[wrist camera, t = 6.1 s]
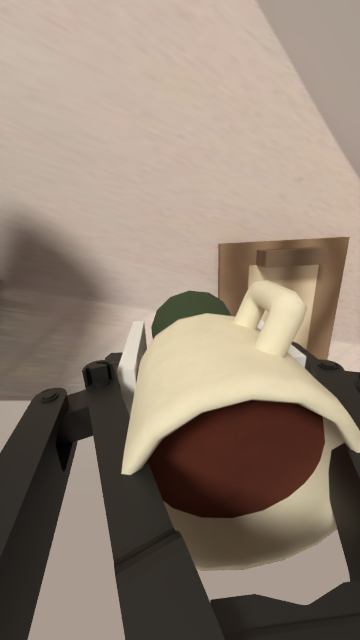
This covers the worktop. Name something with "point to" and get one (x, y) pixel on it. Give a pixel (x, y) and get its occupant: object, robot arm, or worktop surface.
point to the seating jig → (289, 280)
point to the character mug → (236, 429)
